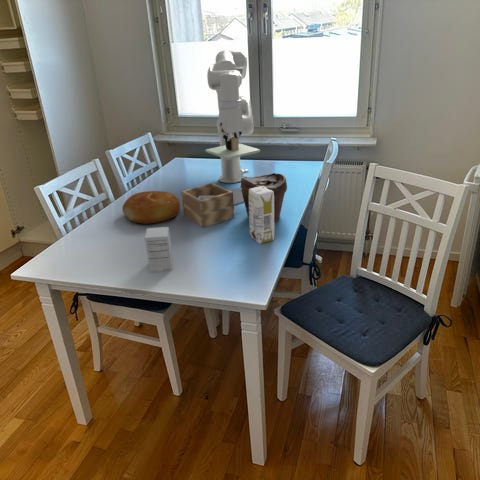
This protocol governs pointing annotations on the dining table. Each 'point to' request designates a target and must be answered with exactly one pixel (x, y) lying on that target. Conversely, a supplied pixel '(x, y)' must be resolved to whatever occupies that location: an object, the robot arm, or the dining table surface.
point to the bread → (151, 207)
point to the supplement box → (159, 249)
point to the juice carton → (261, 214)
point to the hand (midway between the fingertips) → (232, 148)
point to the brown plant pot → (270, 182)
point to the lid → (232, 150)
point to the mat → (237, 196)
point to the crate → (208, 204)
